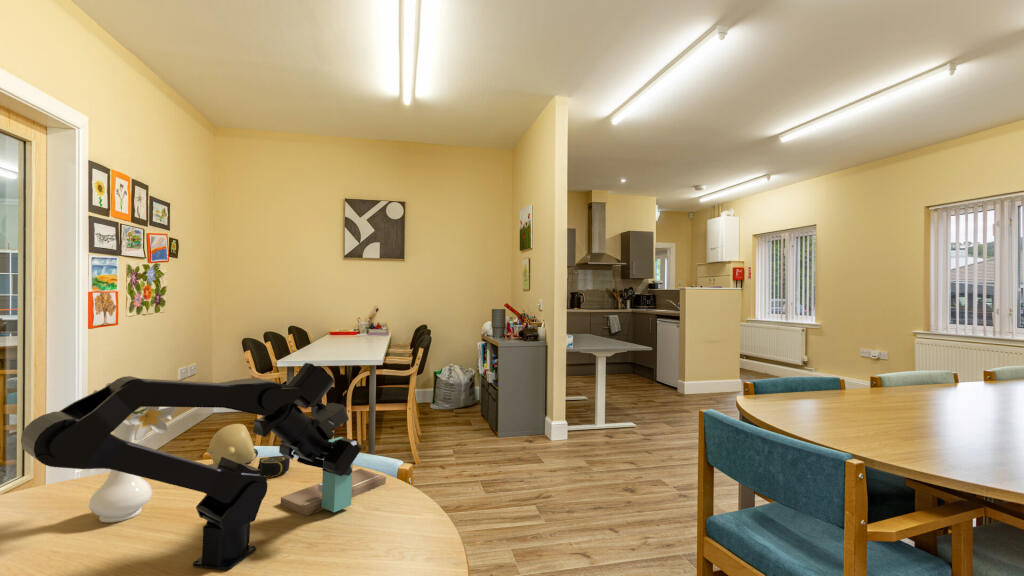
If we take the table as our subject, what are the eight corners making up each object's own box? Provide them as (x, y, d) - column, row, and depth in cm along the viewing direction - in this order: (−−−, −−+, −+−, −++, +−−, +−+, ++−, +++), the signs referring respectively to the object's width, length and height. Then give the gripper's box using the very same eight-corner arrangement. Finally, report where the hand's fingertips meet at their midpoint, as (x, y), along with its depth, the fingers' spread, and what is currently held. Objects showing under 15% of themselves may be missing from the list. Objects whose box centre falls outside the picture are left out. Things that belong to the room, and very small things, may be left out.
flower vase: (126, 538, 79) (133, 394, 80) (49, 524, 84) (56, 387, 85) (194, 506, 92) (200, 382, 93) (124, 495, 96) (130, 377, 97)
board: (306, 516, 89) (306, 508, 89) (280, 504, 94) (280, 496, 94) (385, 483, 106) (385, 476, 106) (360, 474, 110) (360, 468, 111)
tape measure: (289, 467, 115) (290, 452, 115) (288, 477, 108) (288, 461, 109) (258, 471, 112) (259, 456, 112) (255, 481, 106) (256, 465, 106)
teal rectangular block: (334, 512, 89) (336, 445, 89) (312, 503, 93) (314, 438, 93) (351, 505, 92) (353, 440, 93) (329, 496, 96) (331, 434, 96)
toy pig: (250, 481, 114) (272, 443, 122) (231, 456, 107) (255, 417, 115) (214, 478, 115) (237, 440, 123) (192, 452, 107) (218, 414, 116)
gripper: (354, 398, 84) (397, 444, 93) (295, 387, 94) (339, 429, 103) (314, 452, 77) (365, 496, 86) (255, 433, 87) (306, 475, 96)
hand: (343, 471), depth 93 cm, fingers closed on teal rectangular block, 4 cm apart
